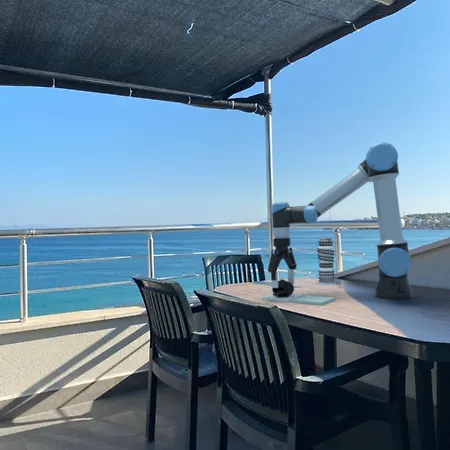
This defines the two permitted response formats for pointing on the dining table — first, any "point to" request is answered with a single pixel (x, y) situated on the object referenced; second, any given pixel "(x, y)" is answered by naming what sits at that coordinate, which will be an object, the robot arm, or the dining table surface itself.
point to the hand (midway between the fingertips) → (283, 285)
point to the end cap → (283, 289)
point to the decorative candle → (326, 261)
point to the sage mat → (313, 300)
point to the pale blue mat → (286, 299)
